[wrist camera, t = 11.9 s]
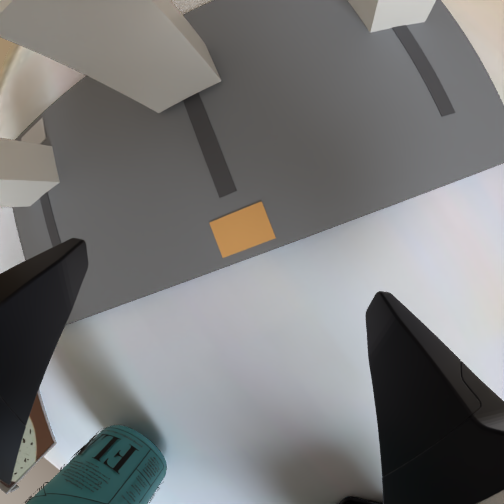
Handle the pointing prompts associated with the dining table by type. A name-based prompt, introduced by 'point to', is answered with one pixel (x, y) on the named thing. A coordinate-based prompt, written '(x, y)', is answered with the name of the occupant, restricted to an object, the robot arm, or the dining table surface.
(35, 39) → the block
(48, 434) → the food container
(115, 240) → the three pillar stand
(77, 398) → the dining table surface
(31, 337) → the robot arm
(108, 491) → the beverage bottle
